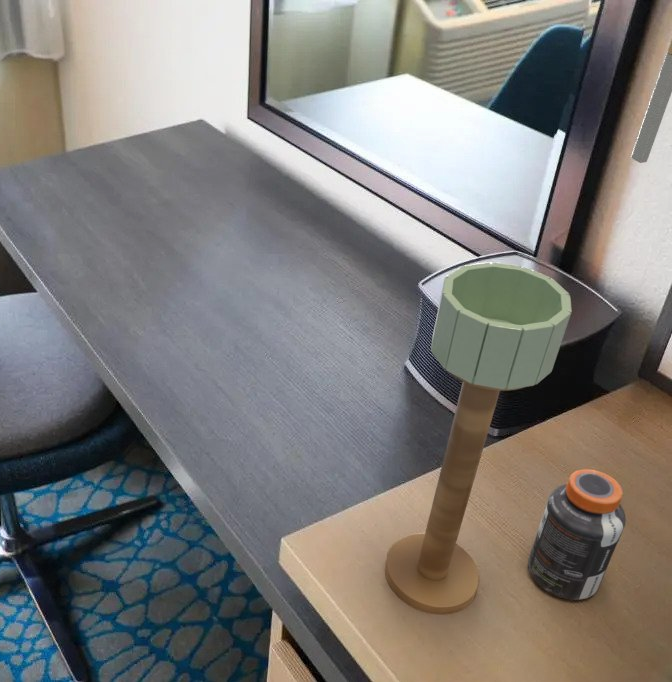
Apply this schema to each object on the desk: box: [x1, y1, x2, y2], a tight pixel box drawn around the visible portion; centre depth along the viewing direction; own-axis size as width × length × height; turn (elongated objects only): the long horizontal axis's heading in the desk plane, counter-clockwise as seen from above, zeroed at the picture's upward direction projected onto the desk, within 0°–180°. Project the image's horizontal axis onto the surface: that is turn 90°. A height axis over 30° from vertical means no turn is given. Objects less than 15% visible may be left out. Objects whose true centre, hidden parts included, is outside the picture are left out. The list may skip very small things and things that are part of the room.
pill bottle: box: [527, 468, 627, 601], centre depth 67 cm, size 6×6×11 cm
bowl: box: [430, 261, 573, 391], centre depth 54 cm, size 8×8×5 cm
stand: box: [384, 372, 525, 615], centre depth 63 cm, size 8×8×26 cm
